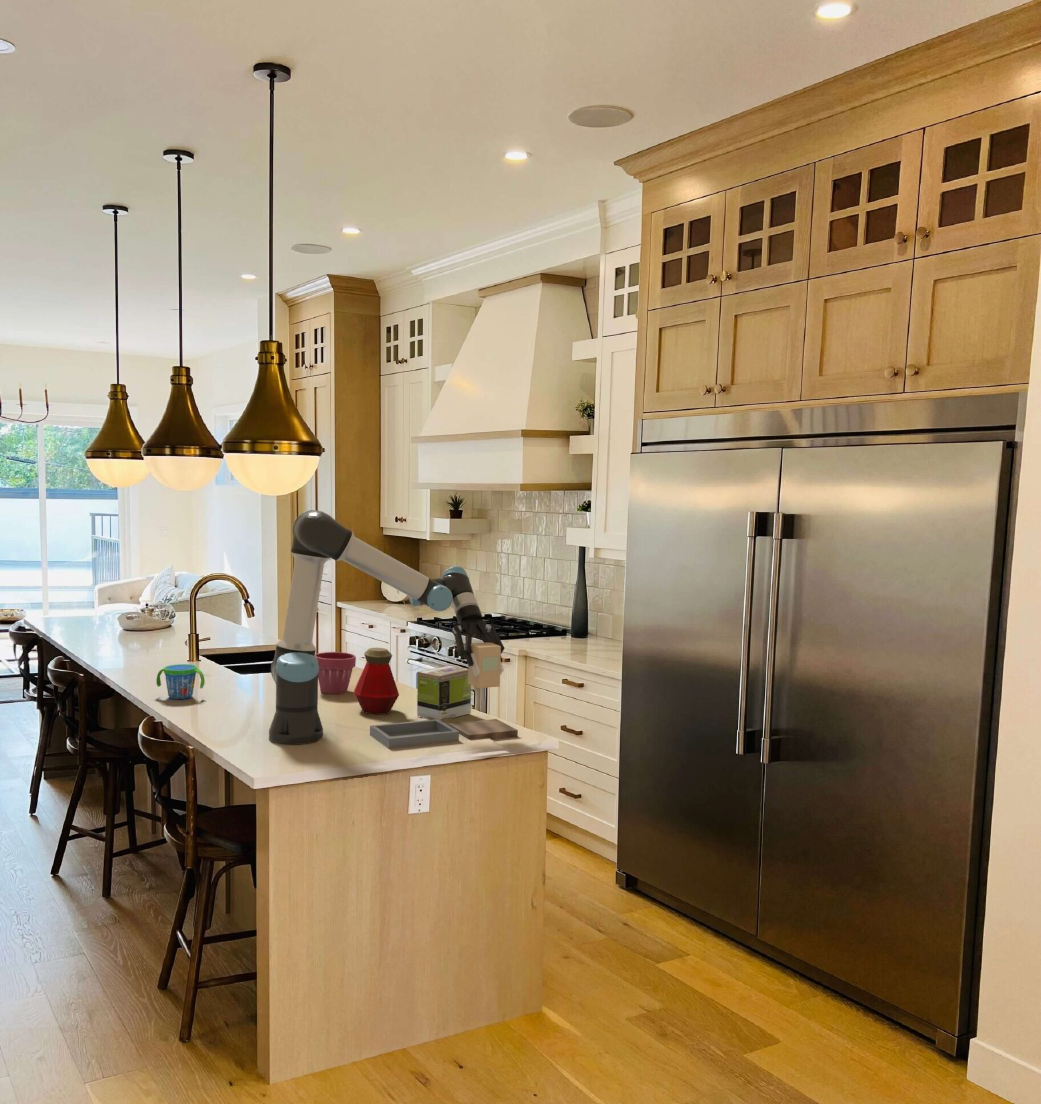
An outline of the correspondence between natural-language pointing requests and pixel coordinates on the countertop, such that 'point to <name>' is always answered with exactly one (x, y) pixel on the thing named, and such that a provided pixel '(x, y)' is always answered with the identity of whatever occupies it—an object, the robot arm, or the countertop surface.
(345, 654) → the plant pot
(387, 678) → the bottle
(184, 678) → the snack cup
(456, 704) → the tea box
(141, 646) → the countertop surface
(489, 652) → the box
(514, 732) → the walnut board
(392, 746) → the bin
